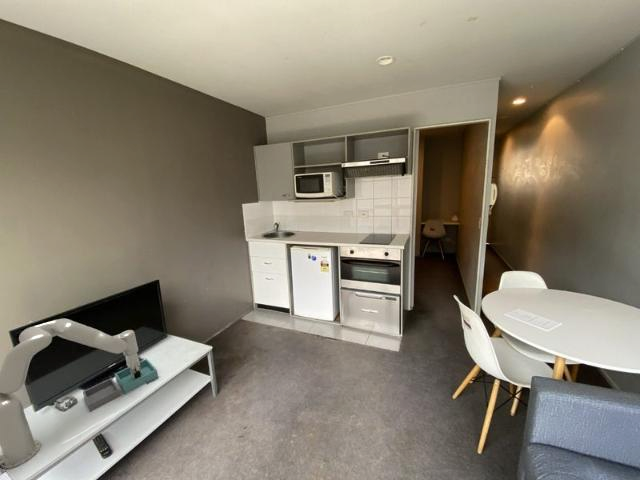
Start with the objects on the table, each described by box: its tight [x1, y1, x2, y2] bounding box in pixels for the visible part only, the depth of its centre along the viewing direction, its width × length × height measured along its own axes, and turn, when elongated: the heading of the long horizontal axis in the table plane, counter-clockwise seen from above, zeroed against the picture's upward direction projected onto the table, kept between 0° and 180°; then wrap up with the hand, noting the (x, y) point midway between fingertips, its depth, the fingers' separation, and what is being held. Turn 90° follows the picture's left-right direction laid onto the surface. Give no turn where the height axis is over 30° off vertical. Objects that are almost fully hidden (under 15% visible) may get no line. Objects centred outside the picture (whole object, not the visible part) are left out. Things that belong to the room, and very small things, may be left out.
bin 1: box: [82, 377, 121, 412], centre depth 159 cm, size 14×16×5 cm
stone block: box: [130, 367, 142, 379], centre depth 171 cm, size 4×4×6 cm
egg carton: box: [53, 394, 78, 412], centre depth 154 cm, size 11×8×4 cm
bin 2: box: [114, 358, 159, 395], centre depth 172 cm, size 18×18×6 cm
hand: (136, 375), depth 172 cm, fingers closed on stone block, 4 cm apart
